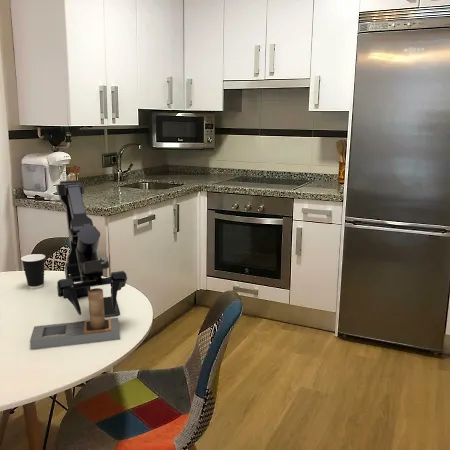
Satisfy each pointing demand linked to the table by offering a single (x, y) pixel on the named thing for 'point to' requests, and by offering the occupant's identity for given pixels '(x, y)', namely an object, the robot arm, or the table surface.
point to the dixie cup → (34, 270)
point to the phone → (110, 308)
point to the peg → (96, 309)
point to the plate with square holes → (73, 334)
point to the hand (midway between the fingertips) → (97, 311)
